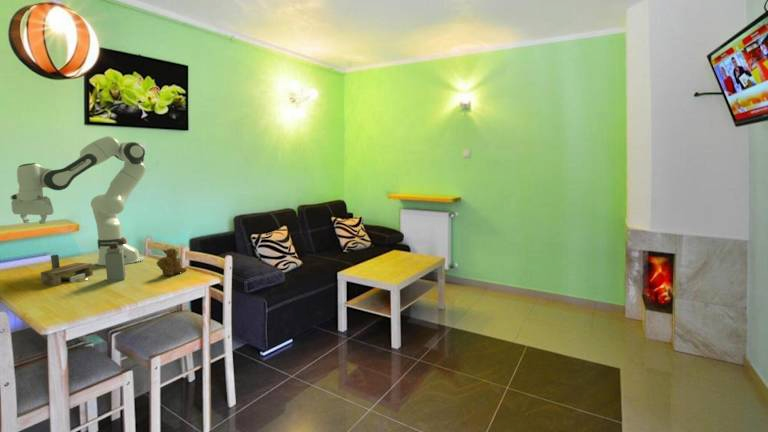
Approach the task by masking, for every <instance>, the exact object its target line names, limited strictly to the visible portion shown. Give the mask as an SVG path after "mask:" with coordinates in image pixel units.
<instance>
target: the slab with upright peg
mask: <svg viewBox="0 0 768 432" xmlns="http://www.w3.org/2000/svg"><path fill="white" fill-rule="evenodd" d="M50 262H51V269H55V268H58V267H61V266H60V257H59V254H52V255H50ZM60 276H61V281H62V280H63V281H69V283H74V282H77V279H80V278H86V276H85V273H82V274H79V275H73V276H63V275H60Z"/></svg>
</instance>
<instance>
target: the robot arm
mask: <svg viewBox="0 0 768 432" xmlns="http://www.w3.org/2000/svg"><path fill="white" fill-rule="evenodd" d="M145 154H146V150H145V147H144V146H143V145H141V143H139V142H133V141H126V142H120V141H118V140H117V138H115V137H113V136H110V135H107V136H104V137H101V138H98V139H96V140H94V141H92V142H90V143H89V144H87V145H85V147H83V148H82V149H81V150H80V152H79V156H78V158H77V159H76V160H75V161H73V162H71V163H69V164H68V165H66V166H64V167H63V168H59V169H52V168H51V169H50V168H49V167H45V166H42V165H40V164H38V163H37V162H32V163H31V162H29V163H23V164H20V165H18V167H17V169H16V179H17V184H18V187H19V188H18V192H17V193H14V194H11V195H10V200H11V202H10V203H11V212H12V213H13V214H14V215H19V216H20V218H21V220H22V221H23V224H30V219H28V217H27V216H28V215H32V216H40V219H39V220H38V221H39V223H38V224H40V225H45V224H46V220H47V217H48V216H51V215H53V214H54V207H53V204H52V201H51V199H50V198H49V197H48V196H46V195H45V196H44V193H43V188H47V189H50V190H53V191H62V190H65V189H67V188H68V187H69V186H70V185H71V183H72V181H73V180H74V179H75V178H77V177H78V176H79V175H82V173H84V172H86V171H87V170H89V169H90V168H92V167H95V166H97V165H100V164H102V163H104V162H106V161H107V160H108V159H110V158H112V157H115V158H116V159H117V160H120V161H123V162H124V165H123V167H122V168H121V169H120V170H119V172H118V173H117V174H116V175H115V176H114V178H113V179H112V180H111V181H110V184H109V187H108V188H107V190H106V192H105V193H104V194H98V195H96V196H94V197H93V198H92V199H91V201H90V206H91V209H92V211H93V216H94V219H95V222H96V228H97V229H96V230H97V249H98V259H97V263H96V264H97V265H98V266H106V261H105V254H106V252H107V250H106V249H107V248H108V247H109V244H110V243H118V247H119V246H121V251H122V250H123V252H124V263H125V265H129V264H134V263H135V262H136V263H140V261H141V262H143V261H144V260H143V259H145V258H144V256H143V255H140V252H139V250H138V249H137V248H136V247H134V246H132V245H131V244H129V243H128V242H127V241H128V239H127V237H123V236H122V235H123V234H122V225H121V222H120V220H119V217H118V215H119V214H120V213H122V212H123V210H124V208H125V204H126V202H127V200H128V199H129V196H130V195H131V193H132V192H133V191H134V189H135V188H136V187H137V185H139V183H140V181H141V180H142V178H143V177H144V175H145V172H146V170H147V167H146V166H145V164H144V163H143V162H144V161H145V160H144V159H145ZM142 260H143V261H142Z"/></svg>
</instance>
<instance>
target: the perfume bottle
mask: <svg viewBox="0 0 768 432" xmlns="http://www.w3.org/2000/svg"><path fill="white" fill-rule="evenodd" d="M106 250H107V252H106V254H105V261H106V265H105V270H106V282H108V283H109V282H118V281H124V280H125V279H126V277H127V276H126V274H127V273H126V266H125V265H126V264H125V263H124V252H123V250H122V251H121V246H119V247H118V243H110V244H109V247H108V248H107V249H106Z"/></svg>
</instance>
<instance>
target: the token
mask: <svg viewBox="0 0 768 432" xmlns="http://www.w3.org/2000/svg"><path fill="white" fill-rule="evenodd" d="M87 281H89V277H85V278H80V279H77V281H76V282H77V283H82V282H87Z"/></svg>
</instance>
